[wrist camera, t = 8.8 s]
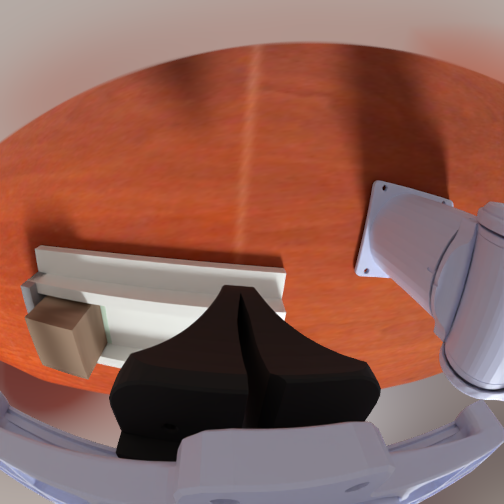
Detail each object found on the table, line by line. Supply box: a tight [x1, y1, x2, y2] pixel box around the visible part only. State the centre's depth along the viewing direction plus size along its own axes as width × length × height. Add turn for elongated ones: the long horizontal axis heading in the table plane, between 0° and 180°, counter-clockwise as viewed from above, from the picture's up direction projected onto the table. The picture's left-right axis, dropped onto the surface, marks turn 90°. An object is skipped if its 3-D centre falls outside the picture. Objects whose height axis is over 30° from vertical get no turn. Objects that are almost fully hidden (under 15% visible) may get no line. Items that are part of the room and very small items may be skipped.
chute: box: [21, 245, 286, 368], centre depth 20 cm, size 22×12×4 cm, turn 83°
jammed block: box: [25, 295, 108, 379], centre depth 18 cm, size 5×5×5 cm
